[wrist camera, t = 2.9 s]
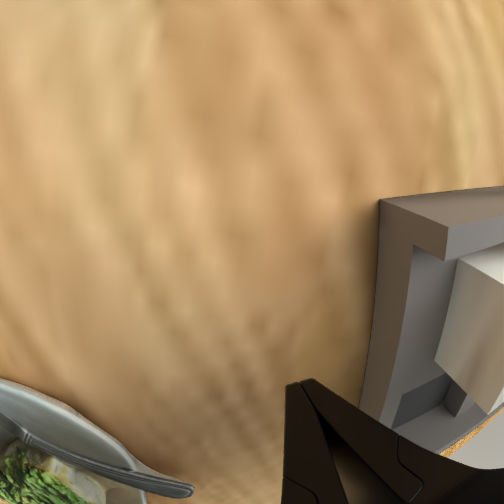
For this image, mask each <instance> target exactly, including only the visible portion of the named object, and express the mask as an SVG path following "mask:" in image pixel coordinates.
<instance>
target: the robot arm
mask: <svg viewBox="0 0 504 504" xmlns="http://www.w3.org/2000/svg"><path fill="white" fill-rule="evenodd" d="M281 504H504V468H501V469H478V468H473V467H470V466H467V465H464V464H462V463H459V462H456V461H454V460H451V459H449V458H446V457H444V456H441V455H439V454H436V453H434V452H432V451H429V450H427V449H425V448H423V447H421V446H419V445H417V444H415V443H414V442H412V441H410V440H408V439H407V438H405V437H403V436H402V435H399V436H398V433H396V432H395V431H393V430H392V429H390V428H388V427H387V426H385V425H383V424H382V423H380V422H379V421H377V420H375V419H374V418H372V417H371V416H369V415H367V414H366V413H364V412H363V411H361V410H360V409H358V408H357V407H355V406H354V405H352V404H350V403H349V402H347V401H346V400H344V399H343V398H341V397H340V396H338V395H337V394H335V393H334V392H332V391H331V390H329V389H328V388H326V387H325V386H324V385H322V384H321V383H319V382H318V381H316V380H315V379H313V378H309V379H305V380H302V381H300V382H295V383H291V384H287V385H286V386H285V426H284V460H283V481H282V496H281Z"/></svg>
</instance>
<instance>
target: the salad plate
mask: <svg viewBox="0 0 504 504" xmlns="http://www.w3.org/2000/svg"><path fill="white" fill-rule="evenodd" d="M145 491H146V492H150V493H153V494H158V495H161V496H165V497H170V498H174V499H175V498H176V499H181V498H187V497H190V496H192V495H193V494H194V486H193V485H191V484H190V483H187V482H185V481H182V480H179V479H177V478H174V477H171V476H168V475H165V474H162V473H159V472H157V471H155V470H153V469H151V468H149V467H147V466H146V465H144V464H143V463H141V462H140V461H139V460H137V459H136V458H135V457H134V456H133V455H132V454H131V453H129V451H128V450H127V449H126V448H125V447H124V446H123V445H122V444H121V442H119V441H118V440H116V439H115V438H114V437H112V436H111V435H109V434H108V433H106V432H105V431H103V430H102V429H100V428H99V427H98V426H96V425H95V424H93V423H92V422H90V421H89V420H88V419H86V418H85V417H83V416H82V415H81V414H80V413H78V412H77V411H76V410H75V409H73V408H72V407H70V406H68V405H67V404H65V403H63V402H61V401H59V400H57V399H54V398H52V397H50V396H47V395H45V394H43V393H41V392H39V391H37V390H34V389H32V388H30V387H27V386H25V385H22V384H19V383H16V382H12V381H9V380H5V379H2V378H0V498H2V499H3V500H6V501H7V502H9V503H11V504H147V498H146V493H145Z"/></svg>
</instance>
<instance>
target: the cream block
mask: <svg viewBox="0 0 504 504" xmlns="http://www.w3.org/2000/svg"><path fill="white" fill-rule="evenodd" d="M434 361H435V362H436V363H437V364H438V365H439V366H440V367H441V368H442V369H443V370H444V371H445V372H446V373H447V374H448V375H449V376H450V377H451V378H452V379H453V380H454V381H455V382H456V383H457V384H458V385H459V386H460V387H461V388H462V389H463V390H464V391H465V392H466V393H467V394H468V395H469V396H470V397H471V398H472V399H473V400H474V402H475V403H476V404H477V405H478V406H479V407H480V408H481V409H482V410H483V411H484V412H485V413H486V414H487V415H488V414H490V413H491V412H492V411H493V410H495V409H496V408H497V407H498V406H500V405H501V404H502V403H503V402H504V243H501V244H499V245H496V246H493V247H490V248H487V249H484V250H481V251H478V252H475V253H472V254H469V255H466V256H463V257H460V258H458V260H457V267H456V272H455V278H454V283H453V289H452V294H451V298H450V303H449V307H448V312H447V316H446V320H445V324H444V328H443V332H442V335H441V339H440V342H439V346H438V349H437V353H436V356H435V359H434Z"/></svg>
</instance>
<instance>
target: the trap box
mask: <svg viewBox="0 0 504 504" xmlns="http://www.w3.org/2000/svg"><path fill="white" fill-rule="evenodd" d="M501 243H504V186H497V187H486V188H476V189H465V190H455V191H446V192H437V193H428V194H419V195H411V196H402V197H394V198H386V199H380V209H379V248H378V266H377V281H376V293H375V304H374V313H373V322H372V330H371V338H370V345H369V352H368V359H367V365H366V371H365V377H364V383H363V388H362V394H361V399H360V404H359V409H360V410H361V411H363V412H364V413H366V414H367V415H369V416H371V417H372V418H374V419H375V420H377V421H379V422H380V423H382V424H383V425H385V426H387V427H388V428H390V429H392V430H393V431H395V432H396V433H398V436H399V435H402V436H403V437H405V438H407V439H408V440H410V441H412V442H414V443H415V444H417V445H419V446H421V447H423V448H425V449H427V450H429V451H432V452H434V453H436V454H439V453H441V452H443V451H444V450H446V449H447V448H449V447H450V446H452V445H453V444H455V443H456V442H458V441H459V440H461V439H462V438H464V437H465V436H466V435H468V434H469V433H471V432H472V431H473V430H475V429H476V428H477V427H479V426H480V425H481V424H483V423H484V422H485V421H486V420H488V419H489V418H490V417H491V416H493V415H494V414H495V413H496V412H498V411H499V410H500V409H501V408H502V407H504V402H503V403H502V404H501V405H500V406H498V407H497V408H496V409H495V410H493V411H492V412H491V413H490V414H488V415H487V414H486V413H485V412H484V411H483V410H482V409H481V408H480V407H479V406H478V405H477V404H476V403H475V402H474V400H473V399H472V398H471V397H470V396H469V395H468V394H467V393H466V392H465V391H464V390H463V389H462V388H461V387H460V386H459V385H458V384H457V383H456V382H455V381H454V380H453V379H452V378H451V377H450V376H449V375H448V374H447V373H446V372H445V371H444V370H443V369H442V368H441V367H440V366H439V365H438V364H437V363H436V362H435V361H434V359H435V356H436V353H437V349H438V346H439V342H440V339H441V335H442V332H443V328H444V324H445V320H446V316H447V312H448V307H449V303H450V298H451V294H452V289H453V283H454V278H455V272H456V267H457V260H458V258H460V257H463V256H466V255H469V254H472V253H475V252H478V251H481V250H484V249H487V248H490V247H493V246H496V245H499V244H501Z"/></svg>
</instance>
